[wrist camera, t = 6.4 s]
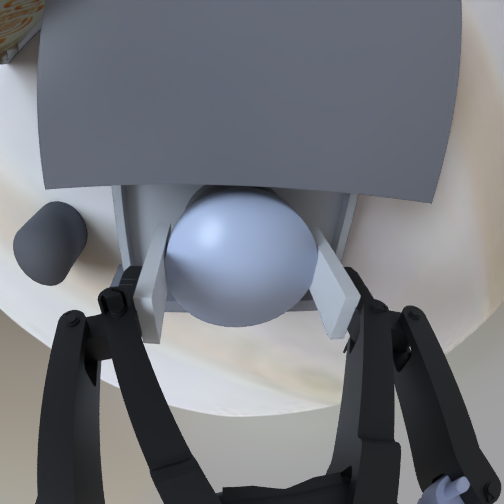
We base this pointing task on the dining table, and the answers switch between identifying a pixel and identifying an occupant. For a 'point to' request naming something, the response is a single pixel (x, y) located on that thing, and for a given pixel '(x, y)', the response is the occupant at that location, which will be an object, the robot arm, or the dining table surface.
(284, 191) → the tray
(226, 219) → the light blue dome
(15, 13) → the coffee box
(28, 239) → the short dark gray cylinder
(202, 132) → the gray drawer box
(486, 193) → the dining table surface
